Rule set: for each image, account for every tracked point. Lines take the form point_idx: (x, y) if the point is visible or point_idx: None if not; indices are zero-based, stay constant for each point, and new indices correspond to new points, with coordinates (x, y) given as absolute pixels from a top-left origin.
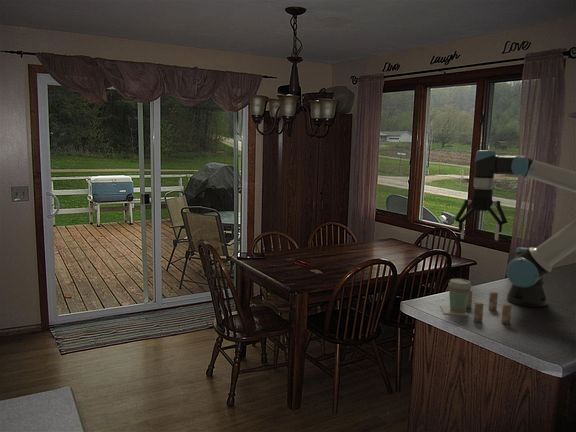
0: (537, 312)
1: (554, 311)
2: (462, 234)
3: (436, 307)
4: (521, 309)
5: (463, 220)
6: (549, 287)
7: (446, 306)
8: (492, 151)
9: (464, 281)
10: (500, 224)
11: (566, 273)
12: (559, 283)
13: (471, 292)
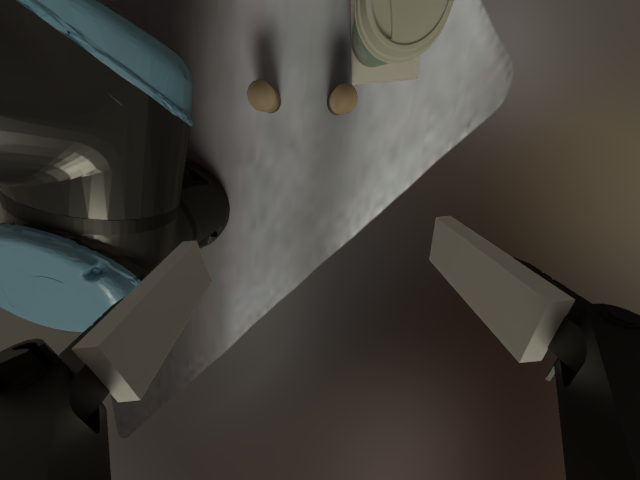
0: None
1: None
2: (469, 231)
3: (428, 66)
4: (192, 127)
5: (618, 342)
6: None
7: (400, 76)
8: None
9: (383, 25)
10: (39, 344)
11: (121, 404)
12: None
13: (335, 88)
